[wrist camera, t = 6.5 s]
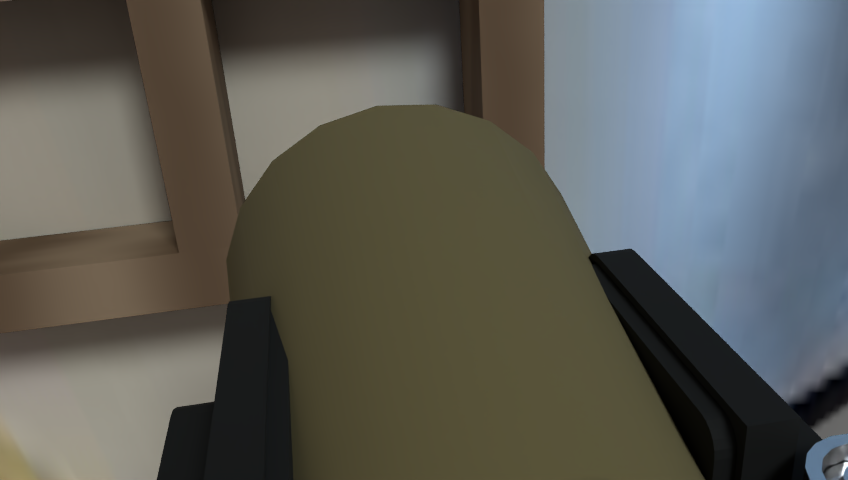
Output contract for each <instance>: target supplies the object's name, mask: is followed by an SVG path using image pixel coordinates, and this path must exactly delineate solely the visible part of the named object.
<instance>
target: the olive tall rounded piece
mask: <svg viewBox="0 0 848 480" xmlns="http://www.w3.org/2000/svg"><path fill="white" fill-rule="evenodd" d="M590 255H591V252H590V250H589V248H588V246H587V244H586V242H585V240H584V238H583V236H582V234H581V232H580V230H579V228H578V226H577V224H576V222H575V220H574V218H573V216H572V214H571V212H570V210H569V208H568V206H567V205H566V203H565V201H564V199H563V197H562V195H561V193H560V192H559V190H558V189H557V187H556V186H555V184H554V183H553V181H552V180H551V178H550V177H549V175H548V174H547V172H546V171H545V169H544V168H543V166H542V165H541V163H540V162H539V160H538V159H537V157H536V156H535V154H534V153H533V152H532V151H530V150H529V149H528V148H526V147H525V146H524V145H522V144H521V143H519V142H518V141H517V140H515V139H514V138H513V137H511V136H510V135H508V134H507V133H506V132H504V131H503V130H502V129H500V128H499V127H498V126H496V125H495V124H493V123H492V122H491V121H488V120H485V119H482V118H478V117H475V116H472V115H469V114H465V113H462V112H459V111H455V110H452V109H449V108H446V107H442V106H439V105H394V106H375V107H372V108H369V109H366V110H363V111H361V112H358V113H355V114H352V115H349V116H346V117H343V118H340V119H337V120H334V121H332V122H329V123H326V124H323V125H320V126H319V127H317V128H316V129H315V130H313V131H312V132H311V133H309V134H308V135H307V136H305V137H304V138H303V139H301V140H300V141H299V142H297V143H296V144H295V145H293V146H292V147H291V148H289V149H288V150H287V151H285V152H284V153H283V154H281V155H280V156H279V157H277V158H276V159H275V160H273V161H272V162H271V164H270V165H269V167H268V168H267V170H266V171H265V173H264V174H263V175H262V177H261V178H260V180H259V181H258V183H257V184H256V186H255V187H254V188H253V190H252V191H251V193H250V194H249V196H248V197H247V199H246V200H245V202H244V203H243V204H242V206H241V207H240V210H239V214H238V218H237V221H236V225H235V229H234V232H233V236H232V240H231V243H230V247H229V251H228V255H227V258H226V263H227V274H228V285H229V296H230V301H236V300H244V299H251V298H259V297H266V296H271V312H272V315H273V318H274V321H275V323H276V326H277V329H278V332H279V335H280V338H281V341H282V344H283V347H284V350H285V353H286V356H287V358H288V368H289V391H290V413H291V436H292V459H293V480H705V478H704V476H703V474H702V472H701V470H700V469H699V467H698V465H697V463H696V461H695V459H694V457H693V456H692V454H691V452H690V450H689V448H688V446H687V444H686V443H685V441H684V439H683V437H682V435H681V433H680V432H679V430H678V428H677V426H676V424H675V422H674V420H673V419H672V417H671V415H670V413H669V411H668V409H667V407H666V406H665V404H664V402H663V400H662V398H661V396H660V395H659V393H658V391H657V389H656V387H655V385H654V383H653V382H652V380H651V378H650V376H649V374H648V372H647V370H646V369H645V367H644V365H643V363H642V361H641V359H640V358H639V356H638V354H637V352H636V350H635V348H634V346H633V345H632V343H631V341H630V339H629V337H628V335H627V333H626V332H625V330H624V328H623V326H622V324H621V322H620V320H619V319H618V317H617V315H616V313H615V311H614V309H613V308H612V306H611V304H610V302H609V300H608V298H607V296H606V294H605V292H604V290H603V288H602V286H601V284H600V282H599V280H598V278H597V276H596V273H595V271H594V269H593V267H592V265H591V264H592V263H591V261H590V259H589V258H588V257H589V256H590Z"/></svg>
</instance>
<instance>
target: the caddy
mask: <svg viewBox="0 0 848 480" xmlns="http://www.w3.org/2000/svg"><path fill="white" fill-rule="evenodd" d="M0 1H10V0H0ZM126 3H127V8H128V12H129V17H130V22H131V27H132V31H133V36H134V41H135V46H136V50H137V55H138V60H139V65H140V69H141V74H142V79H143V84H144V88H145V93H146V98H147V103H148V107H149V112H150V117H151V122H152V126H153V131H154V136H155V141H156V146H157V150H158V155H159V160H160V165H161V169H162V174H163V179H164V184H165V188H166V193H167V198H168V203H169V207H170V212H171V217H172V221H165V222H156V223H148V224H139V225H131V226H122V227H114V228H105V229H97V230H88V231H80V232H71V233H63V234H54V235H46V236H37V237H29V238H20V239H12V240H3V241H0V333H7V332H15V331H23V330H30V329H38V328H46V327H53V326H61V325H68V324H76V323H84V322H91V321H99V320H107V319H114V318H122V317H130V316H137V315H145V314H152V313H160V312H168V311H175V310H183V309H191V308H198V307H206V306H214V305H221V304H228V303H229V301H230V296H229V285H228V274H227V263H226V258H227V255H228V251H229V247H230V243H231V240H232V236H233V232H234V229H235V225H236V221H237V218H238V214H239V210H240V207H241V206H242V204H243V203H244V202H245V196H244V191H243V185H242V179H241V173H240V167H239V161H238V155H237V149H236V143H235V137H234V131H233V125H232V119H231V113H230V107H229V101H228V95H227V89H226V83H225V77H224V71H223V65H222V59H221V53H220V48H219V42H218V36H217V30H216V24H215V18H214V12H213V6H212V0H126ZM459 7H460V29H461V51H462V74H463V96H464V113H465V114H469V115H472V116H475V117H478V118H482V119H485V120H488V121H491V122H492V123H493V124H495V125H496V126H498V127H499V128H500V129H502V130H503V131H504V132H506V133H507V134H508V135H510V136H511V137H513V138H514V139H515V140H517V141H518V142H519V143H521V144H522V145H524V146H525V147H526V148H528V149H529V150H530V151H532V152H533V153H534V154H535V156H536V157H537V159H538V160H539V162H540V163H541V165H542V166H543V168H544V0H459Z"/></svg>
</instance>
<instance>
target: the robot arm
mask: <svg viewBox="0 0 848 480" xmlns="http://www.w3.org/2000/svg"><path fill="white" fill-rule="evenodd" d="M588 258H589V259H590V261H591V263H592V264H591V265H592V267H593V269H594V271H595V273H596V276H597V278H598V280H599V282H600V284H601V286H602V288H603V290H604V292H605V294H606V296H607V298H608V300H609V302H610V304H611V306H612V308H613V309H614V311H615V313H616V315H617V317H618V319H619V320H620V322H621V324H622V326H623V328H624V330H625V332H626V333H627V335H628V337H629V339H630V341H631V343H632V345H633V346H634V348H635V350H636V352H637V354H638V356H639V358H640V359H641V361H642V363H643V365H644V367H645V369H646V370H647V372H648V374H649V376H650V378H651V380H652V382H653V383H654V385H655V387H656V389H657V391H658V393H659V395H660V396H661V398H662V400H663V402H664V404H665V406H666V407H667V409H668V411H669V413H670V415H671V417H672V419H673V420H674V422H675V424H676V426H677V428H678V430H679V432H680V433H681V435H682V437H683V439H684V441H685V443H686V444H687V446H688V448H689V450H690V452H691V454H692V456H693V457H694V459H695V461H696V463H697V465H698V467H699V469H700V470H701V472H702V474H703V476H704V478H705V480H848V434H842V435H835V436H830V437H828V438H826V439H824V440H822V439H821V438H820V437H819V436H818V435H817V434H816V433H815V432H814V431H813V430H812V429H811V428H810V427H809V426H808V425H807V424H806V423H805V422H804V421H803V420H802V419H801V417H800V416H799V415H798V414H797V413H796V412H795V411H794V410H793V409H792V408H791V407H790V406H789V405H788V404H787V403H786V402H785V401H784V400H783V399H782V398H781V397H780V396H779V395H778V394H777V393H776V392H775V391H774V390H773V389H772V388H771V387H770V386H769V385H768V384H767V383H766V382H765V381H764V380H763V379H762V378H761V377H760V376H759V375H758V374H757V373H756V372H755V371H754V370H753V369H752V368H751V367H750V366H749V365H748V364H747V363H746V362H745V361H744V360H743V359H742V358H741V357H740V356H739V355H738V354H737V353H736V352H735V351H734V350H733V349H732V348H731V347H730V346H729V345H728V344H727V343H726V342H725V341H724V340H723V339H722V338H721V337H720V336H719V335H718V334H717V333H716V332H715V331H714V330H713V329H712V328H711V327H710V326H709V325H708V324H707V323H706V322H705V321H704V320H703V319H702V318H701V317H700V316H699V315H698V314H697V313H696V312H695V311H694V310H693V309H692V308H691V307H690V306H689V305H688V304H687V303H686V302H685V301H684V300H683V299H682V298H681V297H680V296H679V295H678V294H677V293H676V292H675V291H674V290H673V289H672V288H671V287H670V286H669V285H668V284H667V283H666V282H665V281H664V280H663V279H662V278H661V277H660V276H659V275H658V274H657V273H656V272H655V271H654V270H653V269H652V268H651V267H650V266H649V265H648V264H647V263H646V262H645V261H644V260H643V259H642V258H641V257H640V256H639V255H638V254H637V253H636V252H635V251H634V250H632V249H625V250H617V251H610V252H602V253H594V254H591V255H590V256H589V257H588ZM157 480H293V459H292V436H291V413H290V391H289V368H288V358H287V356H286V353H285V350H284V347H283V344H282V341H281V338H280V335H279V332H278V329H277V326H276V323H275V321H274V318H273V315H272V312H271V296H266V297H259V298H251V299H244V300H236V301H229V303H228V308H227V315H226V322H225V329H224V336H223V344H222V351H221V358H220V365H219V372H218V380H217V387H216V394H215V401H214V402H210V403H203V404H196V405H189V406H182V407H176V408H175V409H173V412H172V415H171V418H170V422H169V427H168V431H167V436H166V440H165V445H164V449H163V454H162V458H161V463H160V468H159V472H158V477H157Z"/></svg>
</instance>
